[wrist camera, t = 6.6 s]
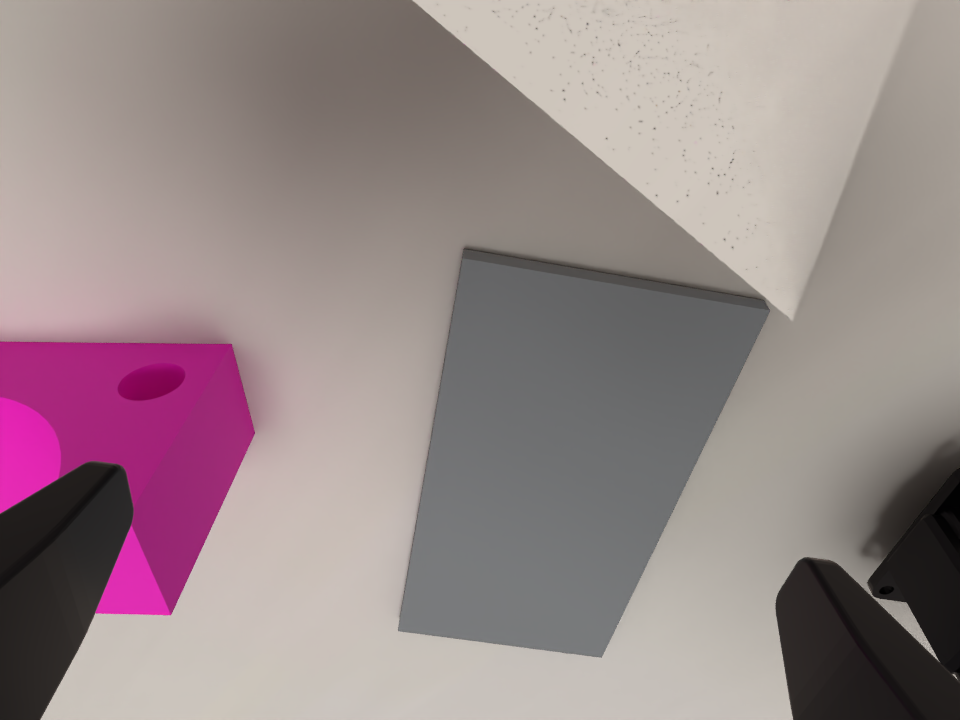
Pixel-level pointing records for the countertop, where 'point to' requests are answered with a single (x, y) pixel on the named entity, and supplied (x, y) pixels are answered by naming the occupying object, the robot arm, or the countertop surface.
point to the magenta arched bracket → (130, 445)
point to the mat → (562, 446)
